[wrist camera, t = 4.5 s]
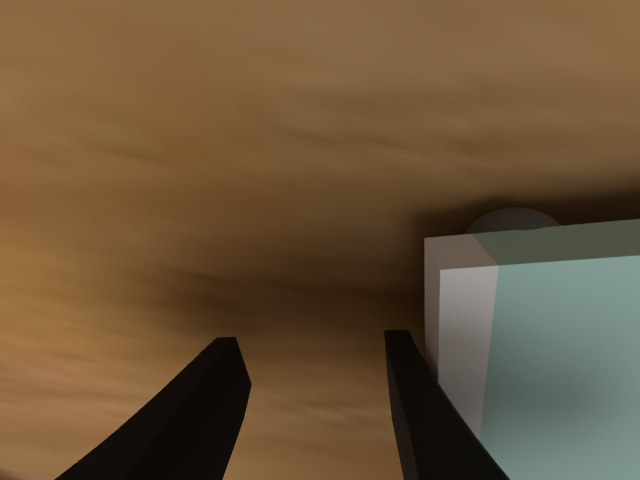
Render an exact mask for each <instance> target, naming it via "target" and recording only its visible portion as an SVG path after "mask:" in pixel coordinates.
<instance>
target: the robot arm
mask: <svg viewBox="0 0 640 480" xmlns="http://www.w3.org/2000/svg"><path fill="white" fill-rule="evenodd" d="M384 336H385V349H386V362H387V375H388V386H389V395H390V404H391V413H392V421H393V426H394V431H395V437H396V442H397V447H398V452H399V457H400V462H401V467H402V472H403V477H404V480H510V478H509V477H508V476H507V475H506V474H505V472H504V471H503V470H502V469H501V468H500V466H499V465H498V464H497V463H496V462H495V460H494V459H493V458H492V456H491V455H490V454H489V453H488V451H487V450H486V449H485V448H484V446H483V445H482V444H481V442H480V441H479V440H478V439H477V437H476V436H475V435H474V433H473V432H472V431H471V429H470V428H469V426H468V425H467V424H466V422H465V421H464V420H463V418H462V417H461V416H460V414H459V413H458V411H457V410H456V409H455V407H454V406H453V404H452V403H451V401H450V400H449V398H448V397H447V395H446V394H445V392H444V391H443V389H442V388H441V386H440V385H439V383H438V382H437V380H436V379H435V377H434V376H433V374H432V372H431V371H430V369H429V367H428V366H427V364H426V362H425V361H424V359H423V357H422V355H421V354H420V352H419V350H418V348H417V346H416V344H415V342H414V340H413V338H412V336H411V333H410V332H409V331H407V330H385V331H384ZM250 389H251V381H250V378H249V375H248V372H247V369H246V366H245V363H244V361H243V358H242V355H241V352H240V349H239V346H238V343H237V340H236V337H221V338H216V339H215V340H214V341H213V342H212V343H210V344H209V345H208V346H207V347H206V348H205V349H204V350H203V351H202V352H201V353H200V354H199V355H198V356H197V357H196V358H195V359H194V360H193V361H191V362H190V363H189V364H188V365H187V366H186V367H185V368H184V369H183V370H182V371H181V372H180V373H179V374H178V375H177V376H176V377H175V378H174V379H173V380H172V381H171V382H169V383H168V384H167V385H166V386H165V387H164V388H163V389H162V390H161V391H160V392H159V393H158V394H157V395H156V396H155V397H153V398H152V399H151V400H150V401H149V402H148V403H147V404H146V405H144V406H143V407H142V408H141V409H140V410H139V411H138V412H137V413H135V414H134V415H133V416H132V417H131V418H130V419H129V420H128V421H126V422H125V423H124V424H123V425H122V426H121V427H120V428H119V429H117V430H116V431H115V432H114V433H113V434H111V435H110V436H109V437H108V438H107V439H105V440H104V441H103V442H102V443H101V444H99V445H98V446H97V447H96V448H94V449H93V450H92V451H91V452H89V453H88V454H87V455H86V456H84V457H83V458H82V459H81V460H79V461H78V462H77V463H75V464H74V465H73V466H72V467H70V468H69V469H68V470H67V471H65V472H64V473H63V474H61V475H60V476H59V477H57V478H56V479H55V480H222V479H223V476H224V473H225V471H226V468H227V465H228V462H229V459H230V457H231V454H232V451H233V448H234V445H235V443H236V440H237V437H238V434H239V431H240V428H241V425H242V422H243V419H244V415H245V411H246V407H247V403H248V398H249V394H250Z"/></svg>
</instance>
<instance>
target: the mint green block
mask: <svg viewBox="0 0 640 480" xmlns="http://www.w3.org/2000/svg"><path fill="white" fill-rule="evenodd" d="M424 269H425V362H426V364H427V366H428V367H429V369H430V371H431V372H432V374H433V376H434V377H435V379H436V380H437V382H438V383H439V385H440V386H441V388H442V389H443V391H444V392H445V394H446V395H447V397H448V398H449V400H450V401H451V403H452V404H453V406H454V407H455V409H456V410H457V411H458V413H459V414H460V416H461V417H462V418H463V420H464V421H465V422H466V424H467V425H468V426H469V428H470V429H471V431H472V432H473V433H474V435H475V436H476V437H477V439H478V440H479V441H480V442H481V444H482V445H483V446H484V448H485V449H486V450H487V451H488V453H489V454H490V455H491V456H492V458H493V459H494V460H495V462H496V463H497V464H498V465H499V466H500V468H501V469H502V470H503V471H504V472H505V474H506V475H507V476H508V477H509V478H510V480H640V219H633V220H621V221H610V222H599V223H588V224H576V225H565V226H561V225H560V224H559V223H558V222H557V221H556V220H554V219H553V218H552V217H550V216H548V215H546V214H544V213H542V212H539V211H536V210H533V209H528V208H521V207H509V208H502V209H498V210H495V211H492V212H489V213H487V214H485V215H483V216H482V217H480V218H479V219H477V220H476V221H475V222H474V223H473V224H472V225H471V226H470V227H469V228H468V229H467V230H466V232H465V234H464V235H452V236H441V237H430V238H424Z"/></svg>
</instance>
